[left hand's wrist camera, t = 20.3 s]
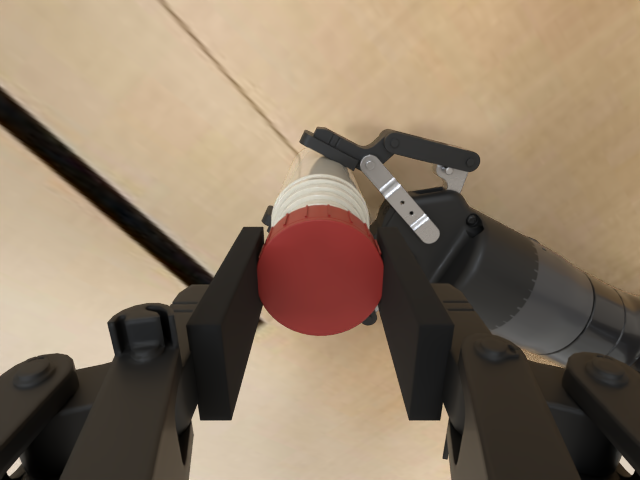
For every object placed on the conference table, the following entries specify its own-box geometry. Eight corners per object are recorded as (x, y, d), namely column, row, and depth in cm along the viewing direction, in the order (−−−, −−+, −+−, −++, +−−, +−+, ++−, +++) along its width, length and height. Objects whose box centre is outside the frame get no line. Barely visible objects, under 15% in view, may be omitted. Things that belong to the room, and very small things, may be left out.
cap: (367, 191, 14) (374, 204, 12) (387, 299, 15) (395, 325, 13) (247, 216, 14) (237, 233, 12) (278, 319, 16) (273, 347, 14)
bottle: (326, 130, 29) (335, 176, 12) (362, 181, 30) (414, 283, 14) (277, 169, 30) (223, 259, 13) (314, 216, 31) (307, 350, 15)
